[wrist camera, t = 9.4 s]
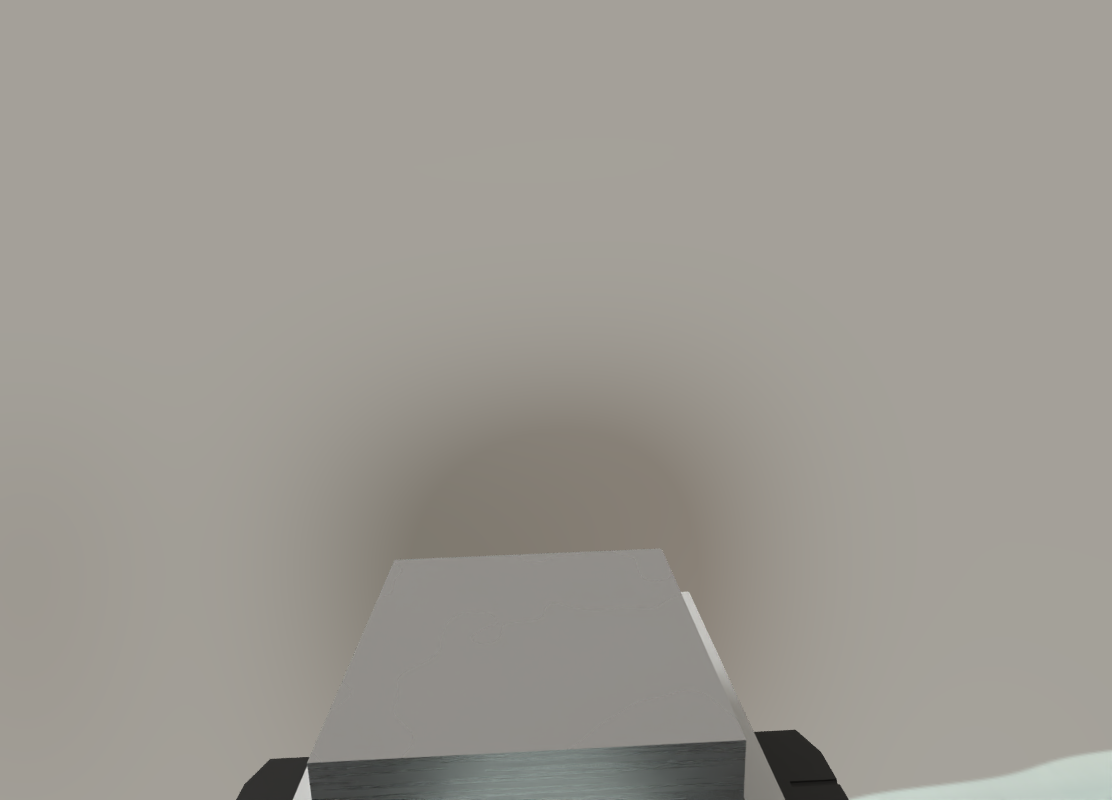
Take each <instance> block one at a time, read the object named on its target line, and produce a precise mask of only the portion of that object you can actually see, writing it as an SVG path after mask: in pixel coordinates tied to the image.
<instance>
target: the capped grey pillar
mask: <svg viewBox="0 0 1112 800" xmlns="http://www.w3.org/2000/svg"><path fill="white" fill-rule="evenodd" d="M745 757H746V738H745V736H744V734H743V732H742V729H741V727H740V725H739V723H738V720H737V718H736V716H735V714H734V711H733V709H732V707H731V704H730V702H729V700H728V698H727V695H726V693H725V691H724V689H723V686H722V684H721V682H720V680H719V677H718V675H717V673H716V671H715V668H714V666H713V664H712V661H711V659H710V657H709V655H708V652H707V650H706V648H705V646H704V643H703V641H702V639H701V637H700V634H699V632H698V630H697V628H696V625H695V623H694V621H693V618H692V616H691V614H690V612H689V609H688V607H687V605H686V603H685V600H684V598H683V596H682V594H681V591H680V589H679V587H678V585H677V582H676V580H675V578H674V575H673V573H672V571H671V569H670V567H669V564H668V562H667V560H666V558H665V555H664V553H663V551H662V549H641V550H617V551H594V552H569V553H546V554H522V555H500V556H499V555H498V556H476V557H451V558H428V559H404V560H394V562H393V565H392V567H391V569H390V572H389V574H388V576H387V579H386V581H385V583H384V586H383V588H382V590H381V592H380V595H379V597H378V599H377V602H376V604H375V606H374V609H373V611H372V613H371V616H370V618H369V621H368V623H367V625H366V627H365V630H364V632H363V634H362V637H361V639H360V641H359V644H358V646H357V648H356V650H355V653H354V655H353V657H352V660H351V662H350V664H349V667H348V669H347V671H346V674H345V676H344V678H343V681H342V683H341V685H340V688H339V690H338V692H337V695H336V697H335V699H334V702H333V704H332V706H331V708H330V711H329V713H328V715H327V718H326V720H325V722H324V725H323V727H322V729H321V732H320V734H319V736H318V739H317V741H316V744H315V746H314V748H313V750H312V752H311V755H310V757H309V759H308V762H307V767H308V775H309V782H310V790H311V798H312V800H745V799H744V780H745Z"/></svg>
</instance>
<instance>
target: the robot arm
mask: <svg viewBox="0 0 1112 800" xmlns="http://www.w3.org/2000/svg"><path fill="white" fill-rule="evenodd" d="M681 594H682V596H683V598H684V600H685V603H686V605H687V607H688V609H689V612H690V614H691V616H692V618H693V621H694V623H695V625H696V628H697V630H698V632H699V634H700V637H701V639H702V641H703V643H704V646H705V648H706V650H707V652H708V655H709V657H710V659H711V661H712V664H713V666H714V668H715V671H716V673H717V675H718V677H719V680H720V682H721V684H722V686H723V689H724V691H725V693H726V695H727V698H728V700H729V702H730V704H731V707H732V709H733V711H734V714H735V716H736V718H737V720H738V723H739V725H740V727H741V729H742V732H743V734H744V736H745V738H746V757H745V780H744V799H745V800H848V798H847V796H846V794H845V793H844V791H843V789H842V788H841V786H840V785H839V784H837V780H836V777H835V776H834V774H833V772H832V770H831V769H830V767H829V765H828V763H827V762H826V760H825V758H824V756H823V755H822V753H821V752H820V751H819V750H818V749H817V748H816V747H815V746H813V745H812V744H811V743H810V742H809V741H808V740H807V739H805V738H804V737H803V736H802V735H801V734H800V733H799V732H797V731H796V730H784V731H764V732H753V729H752V727H751V725H750V723H749V721H748V719H747V716H746V714H745V712H744V710H743V708H742V705H741V703H740V701H739V699H738V697H737V695H736V693H735V690H734V688H733V686H732V684H731V682H730V680H729V677H728V675H727V673H726V671H725V669H724V667H723V664H722V662H721V660H720V658H719V656H718V654H717V651H716V649H715V647H714V645H713V643H712V641H711V639H710V637H709V634H708V632H707V630H706V628H705V626H704V623H703V621H702V619H701V617H700V615H699V613H698V610H697V608H696V606H695V604H694V602H693V600H692V598H691V595H690V593H689V592H681ZM308 759H309V757H300V758H281V759H270V760H269V761H268V762H267V763H266V764H265V765H264V766H263V767H262V768H261V769H260V770H259V771H258V772H257V773H256V774H255V775H254V776H253V777H252V778H251V779H250V780H249V781H248V782H247V783H245V784H244V786H243V788H242V790H241V792H240V794H239V796H238V798H237V799H236V800H312V798H311V790H310V782H309V775H308V767H307V762H308Z"/></svg>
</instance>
